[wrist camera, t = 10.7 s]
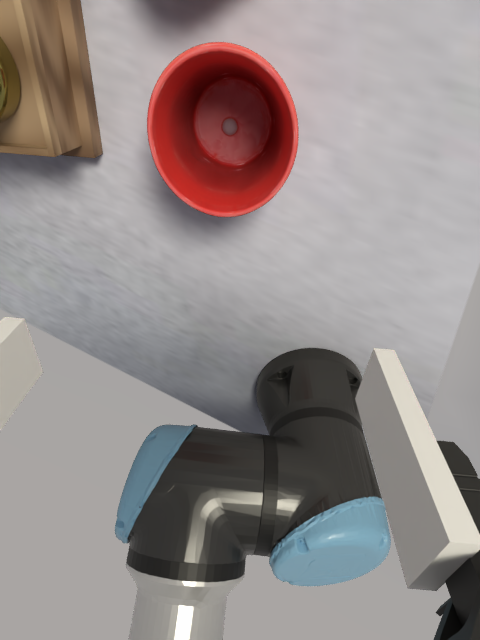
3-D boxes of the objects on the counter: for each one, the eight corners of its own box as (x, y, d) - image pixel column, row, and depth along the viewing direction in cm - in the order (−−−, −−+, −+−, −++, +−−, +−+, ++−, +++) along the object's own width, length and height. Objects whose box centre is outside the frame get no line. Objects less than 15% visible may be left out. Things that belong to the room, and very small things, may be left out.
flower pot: (176, 180, 36) (152, 212, 28) (172, 43, 29) (138, 34, 22) (281, 189, 36) (286, 224, 28) (299, 54, 29) (312, 49, 22)
